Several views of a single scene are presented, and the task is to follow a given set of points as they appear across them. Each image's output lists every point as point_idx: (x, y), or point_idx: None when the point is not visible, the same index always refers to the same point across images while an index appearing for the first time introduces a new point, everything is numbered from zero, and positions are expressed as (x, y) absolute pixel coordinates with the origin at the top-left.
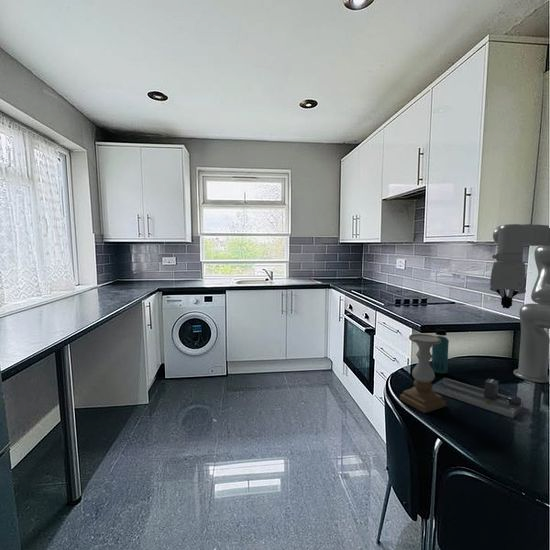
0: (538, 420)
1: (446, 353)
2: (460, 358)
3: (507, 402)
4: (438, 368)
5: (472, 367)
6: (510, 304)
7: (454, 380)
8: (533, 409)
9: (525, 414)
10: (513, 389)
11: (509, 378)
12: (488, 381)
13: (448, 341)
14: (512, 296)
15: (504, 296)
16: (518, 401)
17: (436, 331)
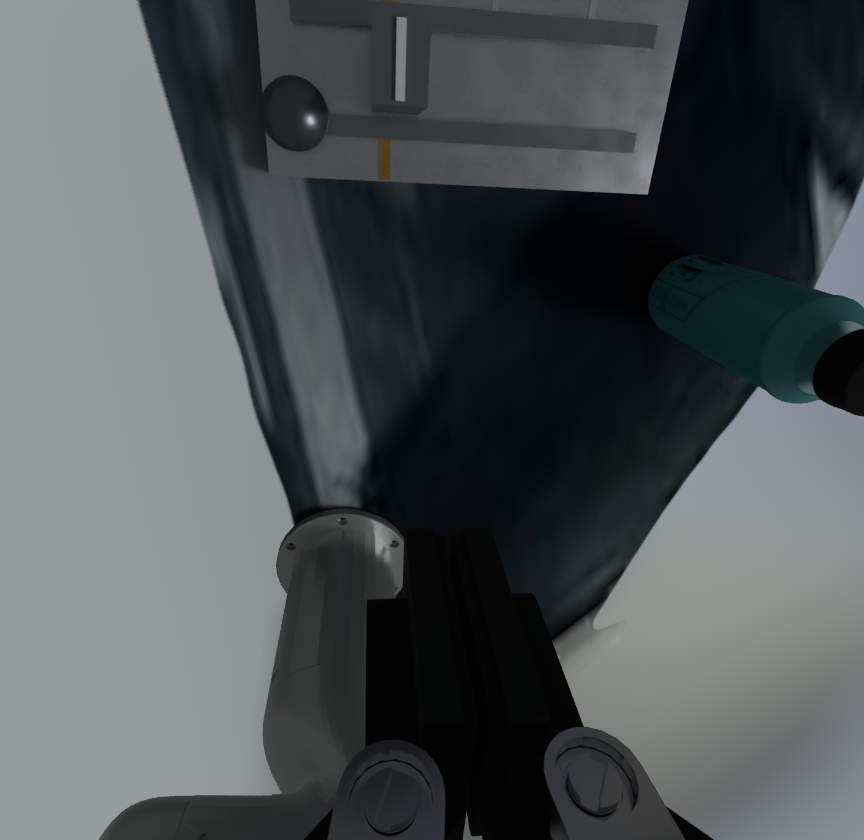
0: (175, 46)
1: (717, 311)
2: (619, 560)
3: (317, 83)
4: (699, 257)
5: (557, 492)
6: (372, 614)
7: (596, 190)
8: (233, 180)
9: (237, 75)
10: (362, 363)
11: (406, 480)
12: (414, 42)
13: (762, 355)
14: (334, 820)
15: (532, 779)
16: (266, 87)
17: None
